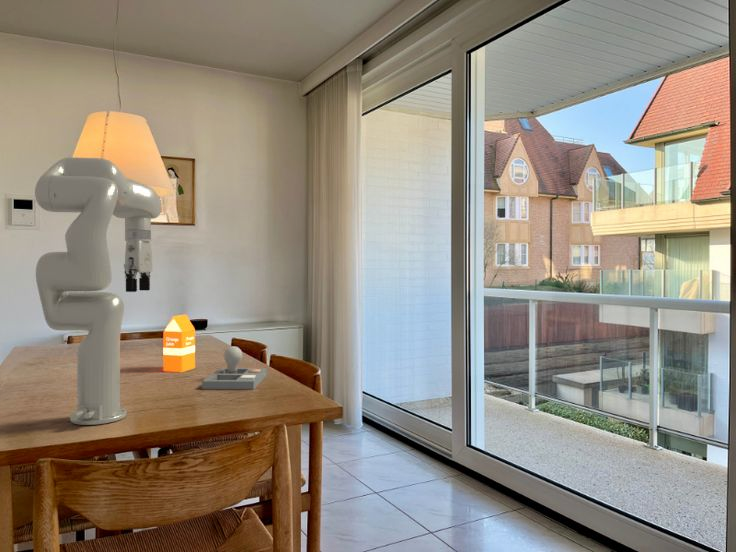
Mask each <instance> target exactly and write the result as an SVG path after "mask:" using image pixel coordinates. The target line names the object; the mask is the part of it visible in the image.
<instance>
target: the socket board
mask: <svg viewBox="0 0 736 552" xmlns="http://www.w3.org/2000/svg"><path fill="white" fill-rule="evenodd" d="M267 375H268V374H267V367H238V370H237V374H229V371H228V367H220V368H219V369H218V370H216V371H214V372H213V373H212V374H210V375H209V376H207V377H206V378H205V379H203V380H201V389H202V390H238V391H239V390H241V391H242V390H249V391H250V390H251V391H252V390H255V389H256V388H257V386H258V385H259V384H260V383H261V382H262V381H263V380H264V379H265V378H266V377H267Z"/></svg>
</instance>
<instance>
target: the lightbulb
mask: <svg viewBox="0 0 736 552" xmlns="http://www.w3.org/2000/svg"><path fill="white" fill-rule="evenodd" d="M223 358H224V360H225V363H226V365H227V368H228V371H229V374H237V370H238V368H239V365H240V363H241V361H242V359H243V351H242V349H240V348H239V346H232V345H231V346H229V347H227V348H226V349H225V350H224V353H223Z"/></svg>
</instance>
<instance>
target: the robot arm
mask: <svg viewBox="0 0 736 552" xmlns="http://www.w3.org/2000/svg"><path fill="white" fill-rule="evenodd" d="M34 195H35V201H36V203H37V205H38V206H39V207H40V208H41V209H42V210H44V211H47V212H51V213H79V214H78V216H76V218H75V219H74V220H73V221H72V222H71V224H70V225H69V226H68V228H67V230H66V231H65V234H64V237H65V239H64V240H65V245H66V251H51V252H46V253H44V254H42V255H41V256H40V258H39V259H38V261H37V263H36V268H35V280H36V281H35V282H36V286H37V290H38V295H39V300H40V304H41V309H42V312H43V316H44V320H45V322H46V325H47V326H48V327H49V328H51V329H52V330H54V331H62V332H63V331H71V332H72V331H74V332H75V331H84V332H85V331H86V332H88V333H87V334H86V336H85V337H84V338H83V339H82V341H81V342H80V343H79V345H78V346H77V353H76V357H77V359H76V361H77V363H76V365H77V366H76V367H77V368H76V370H77V371H76V372H77V374H76V375H77V378H76V379H77V380H76V381H77V382H76V383H77V387H76V389H77V390H76V391H77V397H76V398H77V405H76V407H77V410H76V411H75V412H72V413H71V414H70V415H69V421H70V422H71V423H72V424H74V425H80V426H94V425H103V424H109V423H115V422H117V421H121V420H123V419H124V418H126V417H127V412H128V411H127V409H125V408H123V407H122V408H121V367H120V366H121V334H122V333H121V331H122V324H123V320H124V314H125V313H124V311H125V306H124V305H125V304H124V301H123V299H122V297H120V296H119V295H117V294H115V293H113V292H108V291H104V290H105V289H107V288H109V286H110V285H111V283H112V267H111V260H110V253H109V247H108V242H107V240H108V239H107V234H108V233H107V232H108V228H109V224H110V221H111V219H112V216H114V217H115V218H118V219H124V242H125V253H124V254H125V255H124V264H123V267H124V268H123V269H124V279H125V293H126V292H127V293H136V292H138V289H139V291H150V290H151V272H152V271H153V258H152V257H153V255H152V244H151V242H152V220H154V219H156V218H158V217H159V216H160V215H161V214H162V213H161V212H162V207H163V206H162V201H161V199H160V196H159V194H158V193H157V192H156V190H155V189H153V187H151V186H149V185H147V184H144V183H140V182H138V181H136V180H133V179H131V178H127V177H126V176H125V174H123V172H122V171H121V170H120V169H119V168H118V167H117V166H116V164H115V163H114V162H112V161H110V160H109V159H105V158H98V157H71V156H70V157H69V156H68V157H64V158H61V159H60V160H58V161H56V162H55V163H53V165H52V166H50V167H49V168H48V169H47V170H46V171H45V172H44V173H43V174H42V175H41V176H40V177H39V179H38V180H37V182H36V184H35V187H34ZM138 273H139V277H138V278H139V279H138V278H137V274H138ZM138 283H139V284H138ZM138 285H139V286H138ZM138 287H139V288H138Z"/></svg>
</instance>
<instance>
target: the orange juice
mask: <svg viewBox="0 0 736 552" xmlns="http://www.w3.org/2000/svg"><path fill="white" fill-rule="evenodd" d="M162 337H163V342H162V343H163V349H162V353H163V359H162V361H163V363H162V364H163V372H172V373H173V372H174V373H183V372H186V371H189V370H193V369H195V368H196V329H195V326H194V325H193V324H192V322H191V321H190V319H189V317H188V315H187V314H180V315H173V316H172V317H171V319H170V321H169V322H168V324H167V325H166V327H165V329H164V330H163V336H162Z"/></svg>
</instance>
